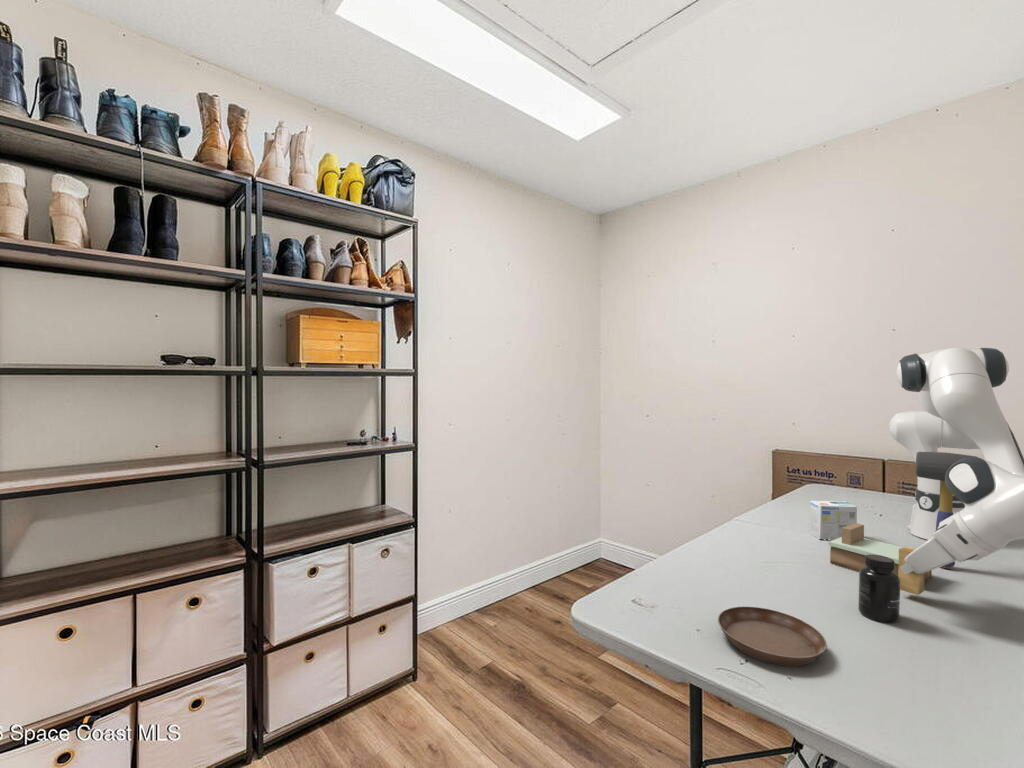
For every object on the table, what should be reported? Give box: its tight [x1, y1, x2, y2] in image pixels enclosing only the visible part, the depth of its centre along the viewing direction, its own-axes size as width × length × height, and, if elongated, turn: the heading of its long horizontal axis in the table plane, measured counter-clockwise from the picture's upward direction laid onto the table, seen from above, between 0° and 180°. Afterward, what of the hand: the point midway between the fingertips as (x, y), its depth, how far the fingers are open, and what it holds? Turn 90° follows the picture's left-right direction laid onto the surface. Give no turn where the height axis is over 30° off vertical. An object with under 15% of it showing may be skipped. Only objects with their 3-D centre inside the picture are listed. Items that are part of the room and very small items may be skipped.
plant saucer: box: [717, 606, 828, 667], centre depth 90 cm, size 18×18×3 cm
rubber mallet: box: [915, 451, 977, 570], centre depth 127 cm, size 12×8×30 cm, turn 47°
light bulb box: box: [809, 500, 858, 541], centre depth 150 cm, size 11×7×11 cm, turn 84°
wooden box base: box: [829, 546, 933, 583], centre depth 124 cm, size 11×18×4 cm, turn 33°
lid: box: [828, 522, 904, 564], centre depth 124 cm, size 12×19×5 cm, turn 33°
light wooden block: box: [898, 546, 925, 596], centre depth 109 cm, size 4×4×9 cm
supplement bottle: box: [858, 554, 901, 624], centre depth 101 cm, size 7×7×12 cm
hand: (907, 567), depth 110 cm, fingers closed on light wooden block, 4 cm apart
